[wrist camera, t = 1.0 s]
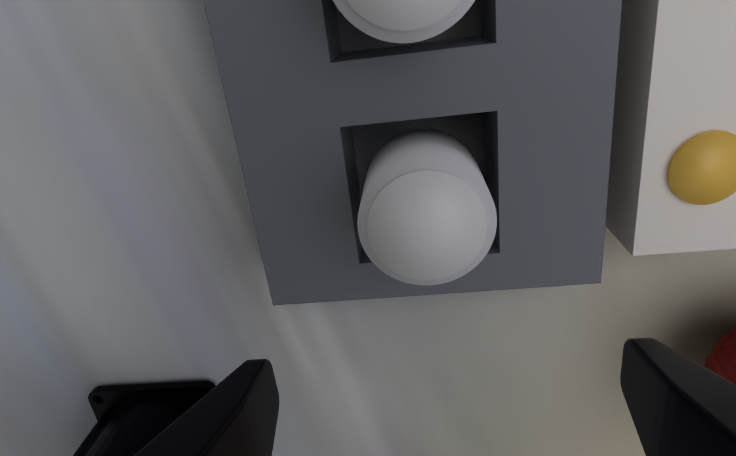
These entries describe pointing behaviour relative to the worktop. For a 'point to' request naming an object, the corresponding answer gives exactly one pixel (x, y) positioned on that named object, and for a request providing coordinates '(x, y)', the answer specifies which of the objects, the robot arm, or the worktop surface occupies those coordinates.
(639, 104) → the tile
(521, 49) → the board
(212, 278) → the worktop surface
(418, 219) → the button
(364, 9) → the button
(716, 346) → the onion
